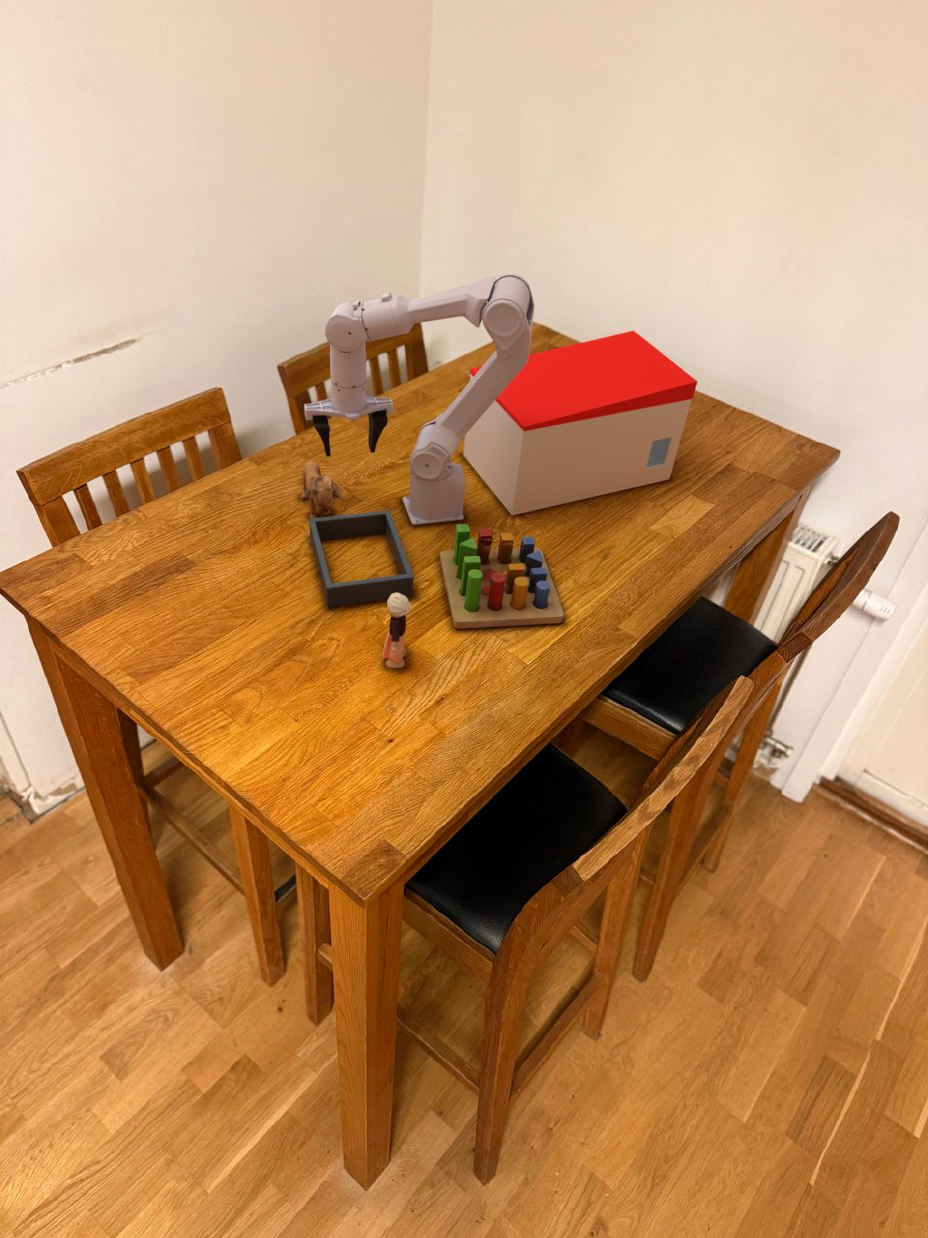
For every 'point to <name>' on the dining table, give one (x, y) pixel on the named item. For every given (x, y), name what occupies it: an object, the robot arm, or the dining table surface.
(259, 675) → the dining table surface
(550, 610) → the peg board
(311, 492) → the lion figurine
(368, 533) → the crate
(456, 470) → the robot arm
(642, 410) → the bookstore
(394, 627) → the grandmother figurine
